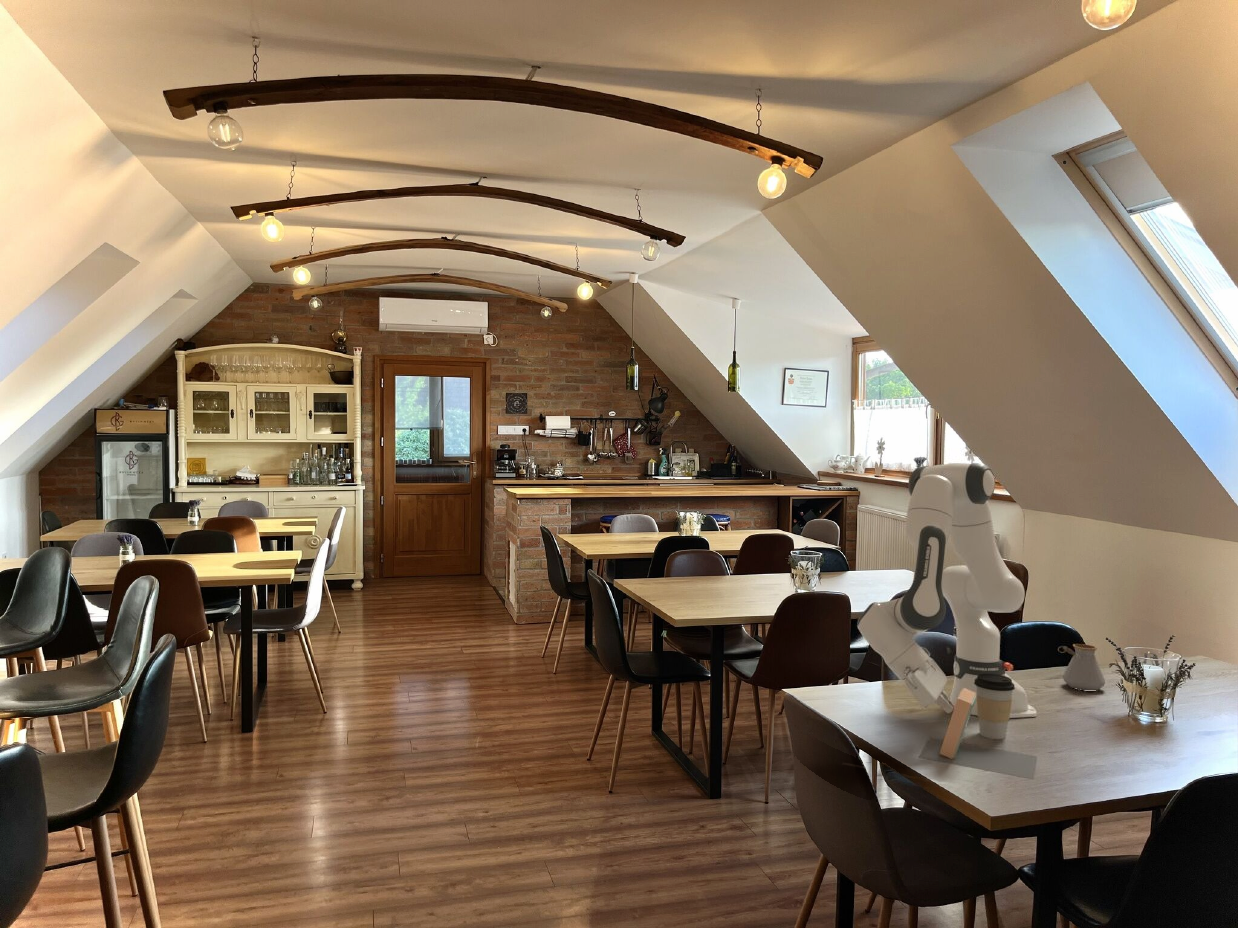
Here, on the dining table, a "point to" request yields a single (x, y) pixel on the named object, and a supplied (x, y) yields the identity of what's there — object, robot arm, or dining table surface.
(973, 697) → the block
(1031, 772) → the mat
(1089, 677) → the coffee pot
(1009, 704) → the coffee cup
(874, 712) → the dining table surface
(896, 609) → the robot arm
